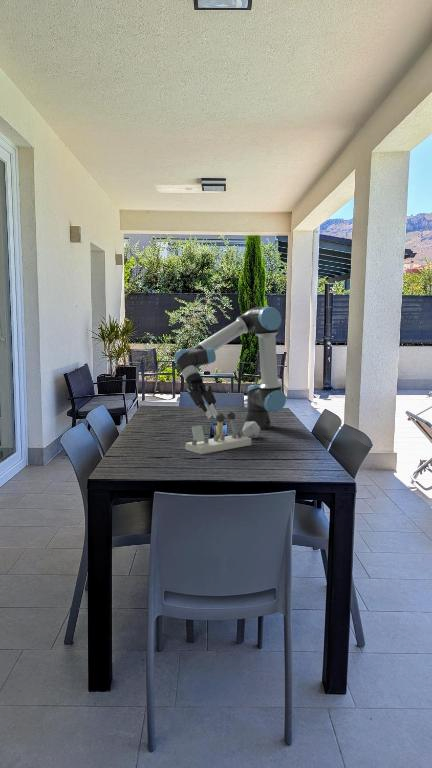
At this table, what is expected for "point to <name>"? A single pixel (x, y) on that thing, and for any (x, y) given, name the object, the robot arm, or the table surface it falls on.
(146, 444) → the table surface
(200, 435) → the sage paddle
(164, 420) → the table surface
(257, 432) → the die
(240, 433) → the panel
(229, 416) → the grey lever
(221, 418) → the brass lever
